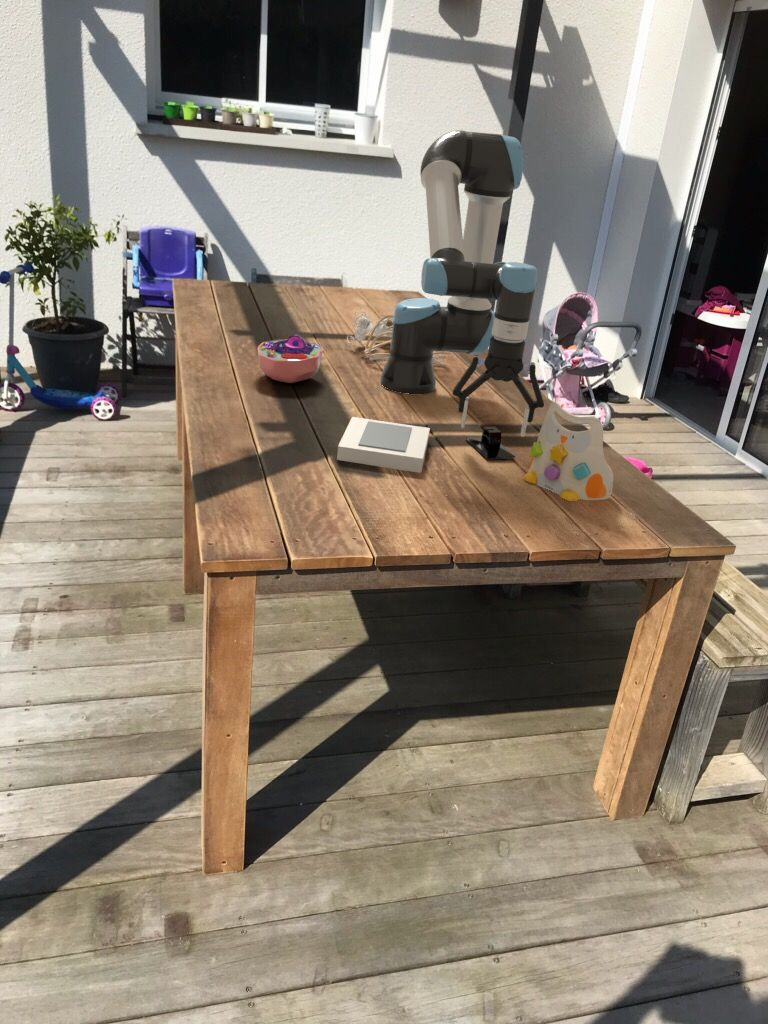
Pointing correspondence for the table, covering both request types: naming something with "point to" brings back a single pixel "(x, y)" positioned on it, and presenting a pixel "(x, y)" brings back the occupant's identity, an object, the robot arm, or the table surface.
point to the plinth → (384, 444)
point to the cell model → (289, 359)
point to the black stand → (490, 444)
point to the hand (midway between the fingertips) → (492, 430)
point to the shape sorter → (570, 458)
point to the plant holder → (379, 335)
